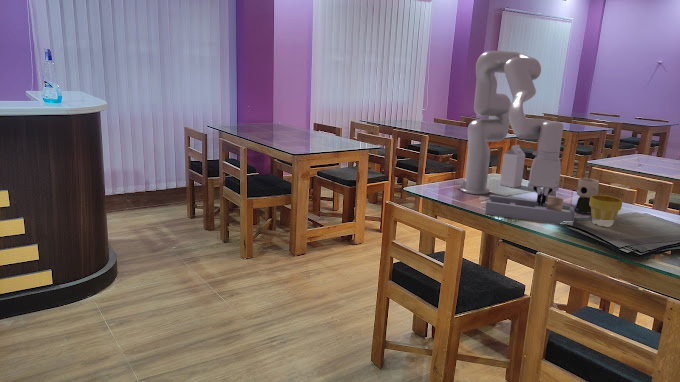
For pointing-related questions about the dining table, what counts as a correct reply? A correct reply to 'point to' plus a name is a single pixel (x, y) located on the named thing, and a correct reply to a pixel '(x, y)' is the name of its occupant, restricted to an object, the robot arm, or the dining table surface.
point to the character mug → (586, 194)
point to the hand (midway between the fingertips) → (540, 204)
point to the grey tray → (527, 210)
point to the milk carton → (512, 167)
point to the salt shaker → (549, 194)
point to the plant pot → (604, 207)
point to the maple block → (555, 203)
